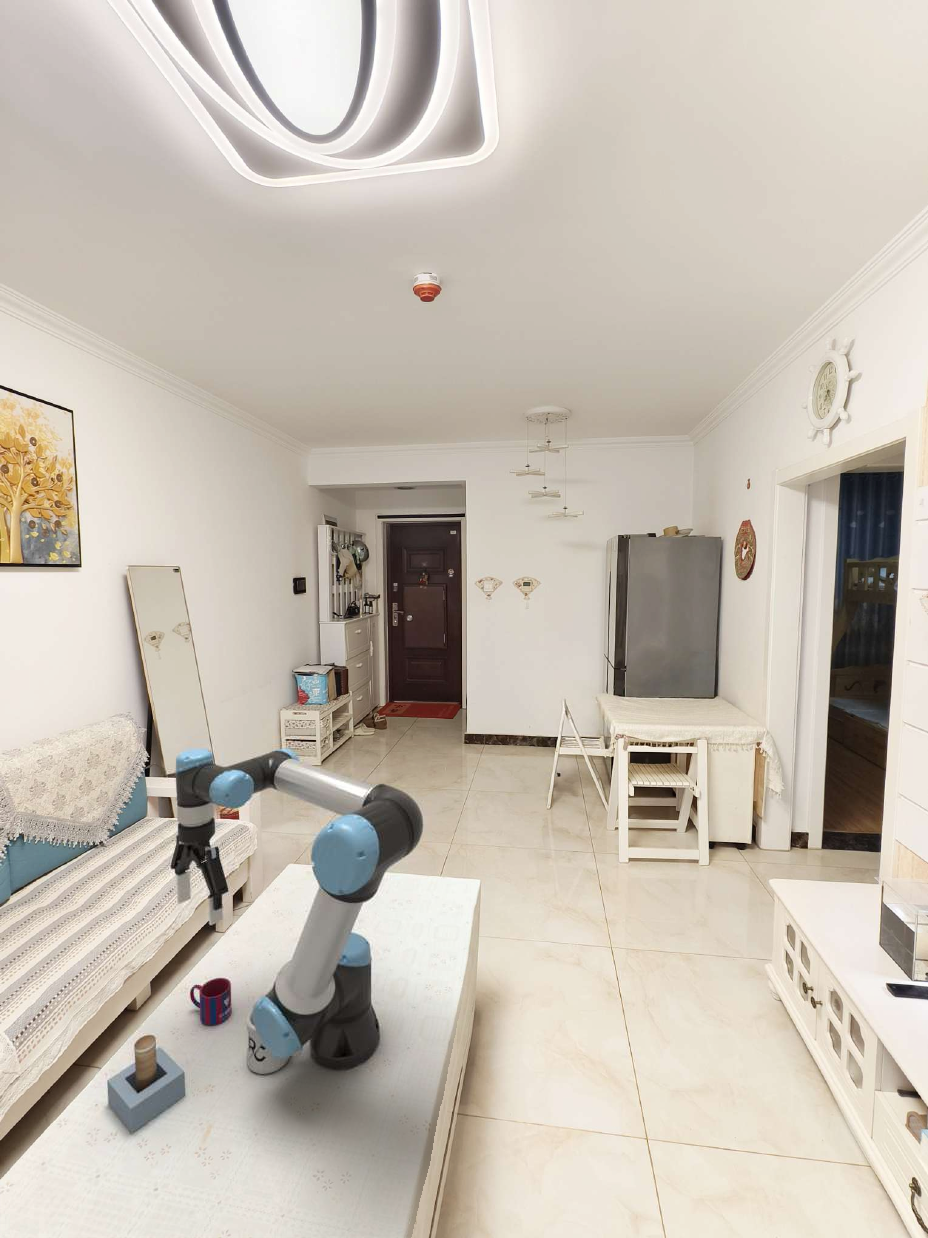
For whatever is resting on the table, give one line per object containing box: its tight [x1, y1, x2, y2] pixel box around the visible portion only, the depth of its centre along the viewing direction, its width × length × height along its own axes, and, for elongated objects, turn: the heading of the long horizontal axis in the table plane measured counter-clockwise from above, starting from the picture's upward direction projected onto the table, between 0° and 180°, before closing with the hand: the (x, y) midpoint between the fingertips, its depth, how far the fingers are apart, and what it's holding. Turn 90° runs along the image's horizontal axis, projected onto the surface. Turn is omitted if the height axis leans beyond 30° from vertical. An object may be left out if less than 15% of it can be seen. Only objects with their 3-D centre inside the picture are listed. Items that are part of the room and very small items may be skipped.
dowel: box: [133, 1034, 157, 1094], centre depth 113 cm, size 4×4×12 cm
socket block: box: [106, 1046, 186, 1135], centre depth 113 cm, size 10×10×5 cm
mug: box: [245, 1007, 304, 1075], centre depth 123 cm, size 12×9×10 cm
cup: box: [189, 977, 232, 1027], centre depth 136 cm, size 7×10×7 cm
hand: (199, 911), depth 131 cm, fingers open, 13 cm apart
